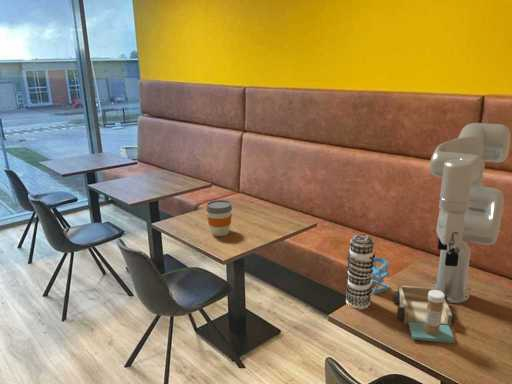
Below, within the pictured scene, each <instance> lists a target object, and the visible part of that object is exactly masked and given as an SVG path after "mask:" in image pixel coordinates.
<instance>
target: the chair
mask: <svg viewBox="0 0 512 384" xmlns="http://www.w3.org/2000/svg"><path fill="white" fill-rule="evenodd" d="M373 259H374V263H373V264H374V267H373V268H372V269H373V272H372V276H371V286H372V285H373V283H374V284H376V285H375V286H374V288H373V290H371V294H372V295H376V294H378V293H382V292H386V291H388V290H390V289H391V286H390V285H388V284H385V283H384V282H383V280H384V279H385V278H386V277H387V276H389V275H390V271H389V270H388V267H389V266H390V263H389V262H390V261H388V260H387V259H385V258H383V257H376V256H375V258H373ZM377 263H381V266H380V267H378V266H377ZM372 278H375V279H376V280H375V279H372ZM379 286H382V287H381V288H379ZM372 287H373V286H372Z"/></svg>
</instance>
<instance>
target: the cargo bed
mask: <svg viewBox="0 0 512 384" xmlns="http://www.w3.org/2000/svg"><path fill="white" fill-rule="evenodd" d="M397 286H398V287H397V290H394V291H393V293H392V298H393V299H392V300H393V303H395V304H398V307H397V309H396V315H397V320H398V321H400V320H401V321H403V325H406V326H407V325H408V326H409V324H407V323H406V321H407V320H408V321H420V322H425V316H426V310H427V304H428V293H429V291H431V290H439V291H441V290H440V288H431V287H428V286H427V287H426V286H415V285H414V286H413V285H399V284H398V285H397ZM448 303H449V302H448V300H447V296H446V295H445V299H444V302H443V308H442V316H441V323H445V324H450V327H451V325H455V324H456V321H457V320H456V318H457V317H456V312H455V310H454V311H453V310H451V309H450V307H449V304H448Z"/></svg>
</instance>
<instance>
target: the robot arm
mask: <svg viewBox="0 0 512 384" xmlns="http://www.w3.org/2000/svg"><path fill="white" fill-rule="evenodd" d="M510 145H511V132H510V129H509V128H508V127H507V126H506V125H504V124H500V123H485V122H484V123H483V122H482V123H481V122H472V123H471V122H470V123H468V124H466V125H465V126H464V127H463V128H462V129H461V131H460V133H459V135H458V137H457V138H454V139H449V140H447V141H445V142H442V143H440V144H439V145H437V146H436V148H435V149H434V152H433V153H432V154H431V155H432V156H431V157H430V161H429V170H430V173H431V175H433V176H434V177H439V178H442V179H441V186H440V192H439V193H440V195H439V204H438V208H439V213H438V217H437V218H438V219H437V222H436V223H437V224H436V234H437V236H438V240H437V241H438V242H437V249H438V250H439V251H440V252H439V253H440V255H439V261H438V268H437V269H438V270H437V276H436V283H434V284H432V285H431V287H430V288H440V290H441V292H443V293H444V295H446V296H447V300H448V303H450V304H463V303H466V302H467V301H468V300H469V299H470V293H469V291H468V290H467V289H466V286H467V279H468V273H469V267H470V261H471V260H470V259H471V249H470V246H469V244H468V242H470V243H475V244H482V245H487V246H489V245H491V246H492V245H495V244H496V242H497V240H498V238H499V234H500V229H501V221H502V216H503V209H504V203H505V202H504V201H505V200H504V193H503V192H502V191H501V189H498V188H495V187H490V186H489V187H488V186H482V185H483V180H484V172H485V166H486V163H485V162H489V163H502V162H505V160H506V159H507V158H508V157H509V154H510V153H509V152H510V147H511V146H510Z"/></svg>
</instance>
